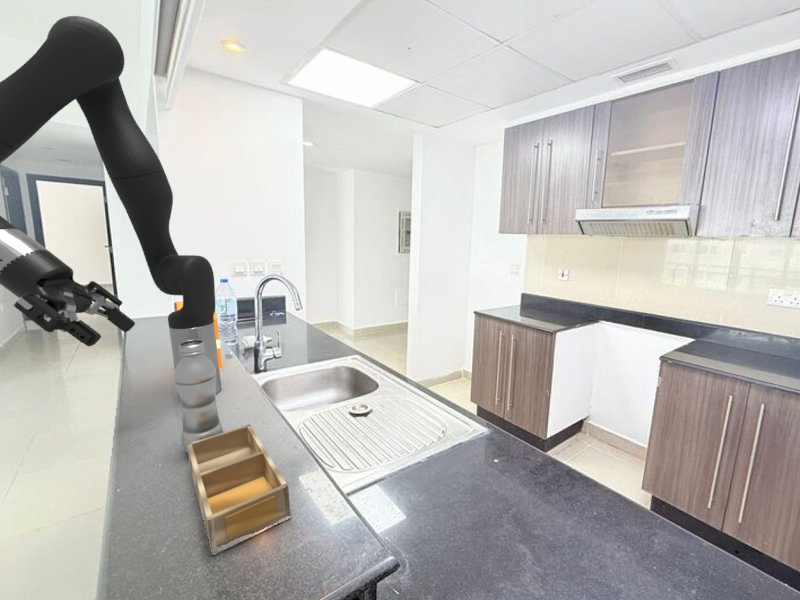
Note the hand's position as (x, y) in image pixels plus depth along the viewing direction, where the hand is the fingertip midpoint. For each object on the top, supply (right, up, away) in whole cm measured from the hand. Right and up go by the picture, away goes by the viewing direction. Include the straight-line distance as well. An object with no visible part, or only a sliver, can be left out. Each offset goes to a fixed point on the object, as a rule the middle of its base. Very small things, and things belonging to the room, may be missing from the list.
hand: (114, 334), depth 58 cm
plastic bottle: (+12, -21, +6) cm, 25 cm away
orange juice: (-10, -14, +45) cm, 48 cm away
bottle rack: (+22, -23, -5) cm, 32 cm away
